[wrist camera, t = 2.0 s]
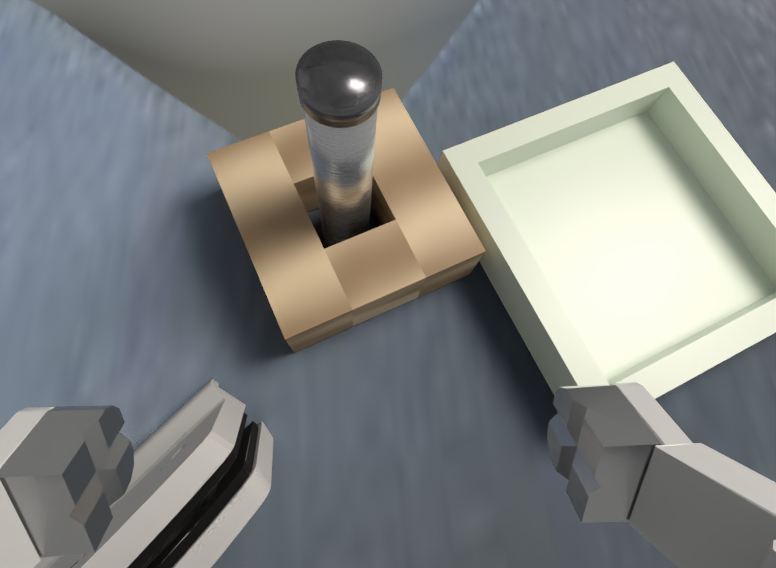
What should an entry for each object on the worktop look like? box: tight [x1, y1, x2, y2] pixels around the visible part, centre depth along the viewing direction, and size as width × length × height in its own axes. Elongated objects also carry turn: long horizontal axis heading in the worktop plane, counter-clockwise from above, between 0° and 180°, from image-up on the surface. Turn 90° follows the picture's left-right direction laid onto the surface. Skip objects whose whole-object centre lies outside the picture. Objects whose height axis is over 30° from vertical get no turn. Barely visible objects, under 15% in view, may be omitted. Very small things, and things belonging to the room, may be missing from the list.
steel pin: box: [296, 40, 382, 246], centre depth 24 cm, size 3×3×14 cm
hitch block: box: [207, 88, 486, 353], centre depth 29 cm, size 12×12×4 cm
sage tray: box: [438, 62, 776, 399], centre depth 30 cm, size 18×18×4 cm
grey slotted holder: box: [33, 379, 273, 568], centre depth 21 cm, size 17×5×10 cm, turn 136°
